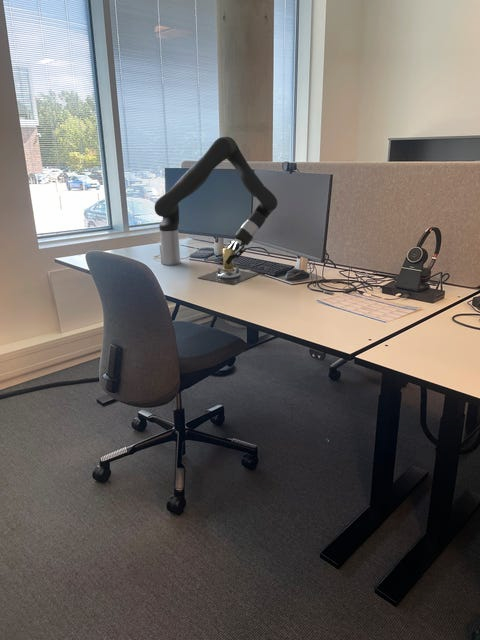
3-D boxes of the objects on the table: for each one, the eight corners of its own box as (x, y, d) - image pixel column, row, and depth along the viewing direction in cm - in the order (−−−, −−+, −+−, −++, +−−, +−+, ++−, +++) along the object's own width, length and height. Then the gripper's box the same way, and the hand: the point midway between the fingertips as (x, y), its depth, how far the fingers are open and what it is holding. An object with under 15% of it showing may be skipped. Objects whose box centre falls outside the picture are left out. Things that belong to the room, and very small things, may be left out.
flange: (197, 278, 207) (197, 269, 206) (224, 268, 222) (224, 260, 221) (233, 285, 196) (232, 275, 194) (258, 274, 211) (258, 265, 209)
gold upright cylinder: (220, 270, 208) (219, 249, 204) (227, 268, 211) (226, 246, 208) (229, 272, 205) (228, 250, 201) (236, 269, 209) (235, 248, 205)
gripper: (234, 225, 210) (211, 254, 209) (249, 229, 199) (226, 260, 198) (244, 235, 215) (222, 263, 214) (260, 240, 203) (237, 270, 202)
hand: (224, 261), depth 206 cm, fingers closed on gold upright cylinder, 4 cm apart
